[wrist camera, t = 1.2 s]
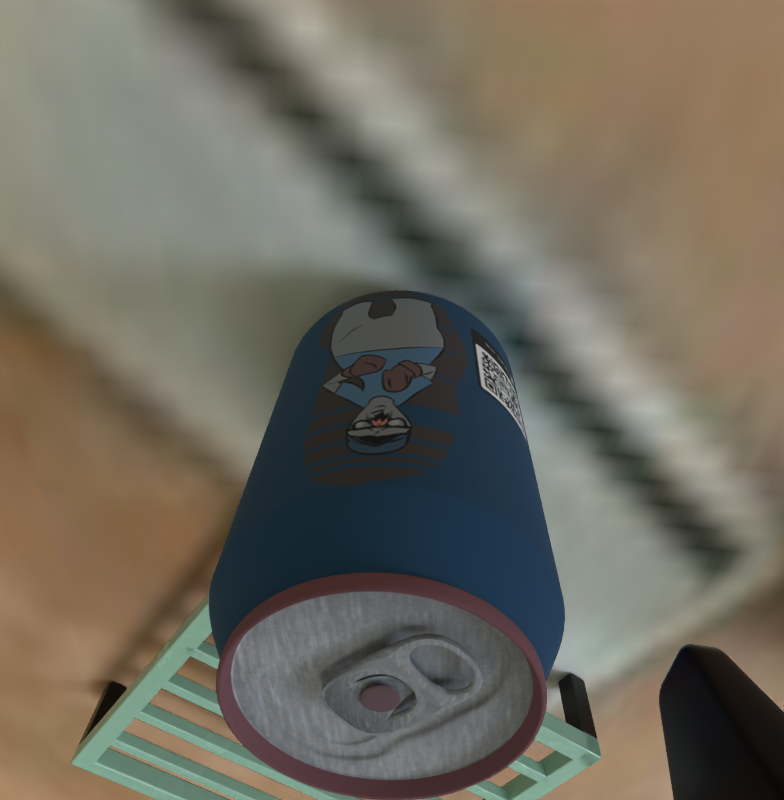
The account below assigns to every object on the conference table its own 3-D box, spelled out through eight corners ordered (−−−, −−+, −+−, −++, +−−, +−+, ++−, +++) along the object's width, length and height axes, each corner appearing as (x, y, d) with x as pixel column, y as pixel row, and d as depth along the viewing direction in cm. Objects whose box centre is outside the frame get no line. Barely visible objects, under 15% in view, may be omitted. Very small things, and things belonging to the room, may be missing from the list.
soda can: (382, 495, 25) (351, 855, 14) (249, 356, 22) (94, 673, 12) (550, 396, 22) (658, 741, 12) (424, 228, 20) (422, 483, 9)
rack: (584, 680, 29) (602, 758, 26) (390, 818, 35) (386, 895, 32) (263, 495, 25) (241, 564, 22) (104, 689, 31) (69, 764, 28)
